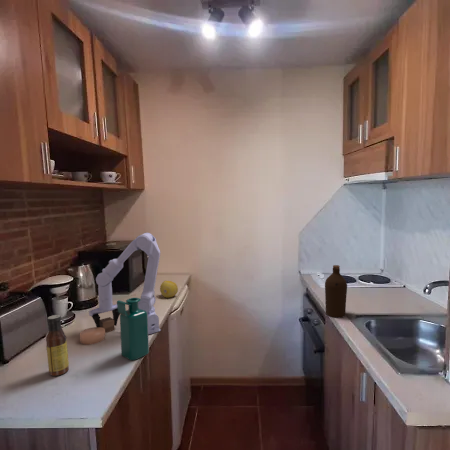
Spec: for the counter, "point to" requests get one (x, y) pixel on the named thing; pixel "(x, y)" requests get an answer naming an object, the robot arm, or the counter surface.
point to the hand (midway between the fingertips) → (106, 327)
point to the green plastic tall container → (133, 329)
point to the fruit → (168, 289)
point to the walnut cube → (107, 324)
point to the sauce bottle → (56, 347)
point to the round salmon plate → (92, 335)
